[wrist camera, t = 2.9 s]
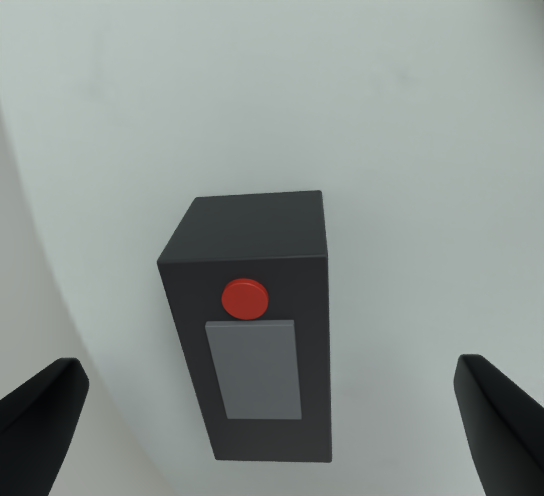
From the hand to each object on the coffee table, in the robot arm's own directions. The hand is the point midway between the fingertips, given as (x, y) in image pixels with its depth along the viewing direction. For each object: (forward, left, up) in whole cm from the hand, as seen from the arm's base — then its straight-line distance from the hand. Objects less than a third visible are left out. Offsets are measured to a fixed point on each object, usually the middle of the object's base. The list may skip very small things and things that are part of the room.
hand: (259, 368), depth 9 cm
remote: (0, 0, -3) cm, 3 cm away
